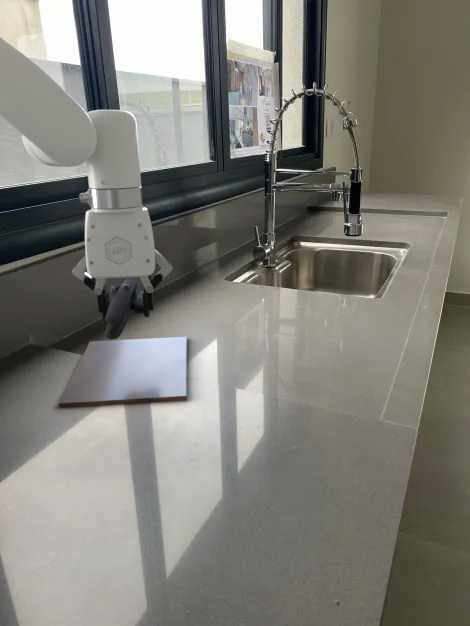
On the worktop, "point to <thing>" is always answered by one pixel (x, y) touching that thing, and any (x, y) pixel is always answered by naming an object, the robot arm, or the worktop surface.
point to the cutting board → (129, 373)
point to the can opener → (123, 307)
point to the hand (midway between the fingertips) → (127, 314)
